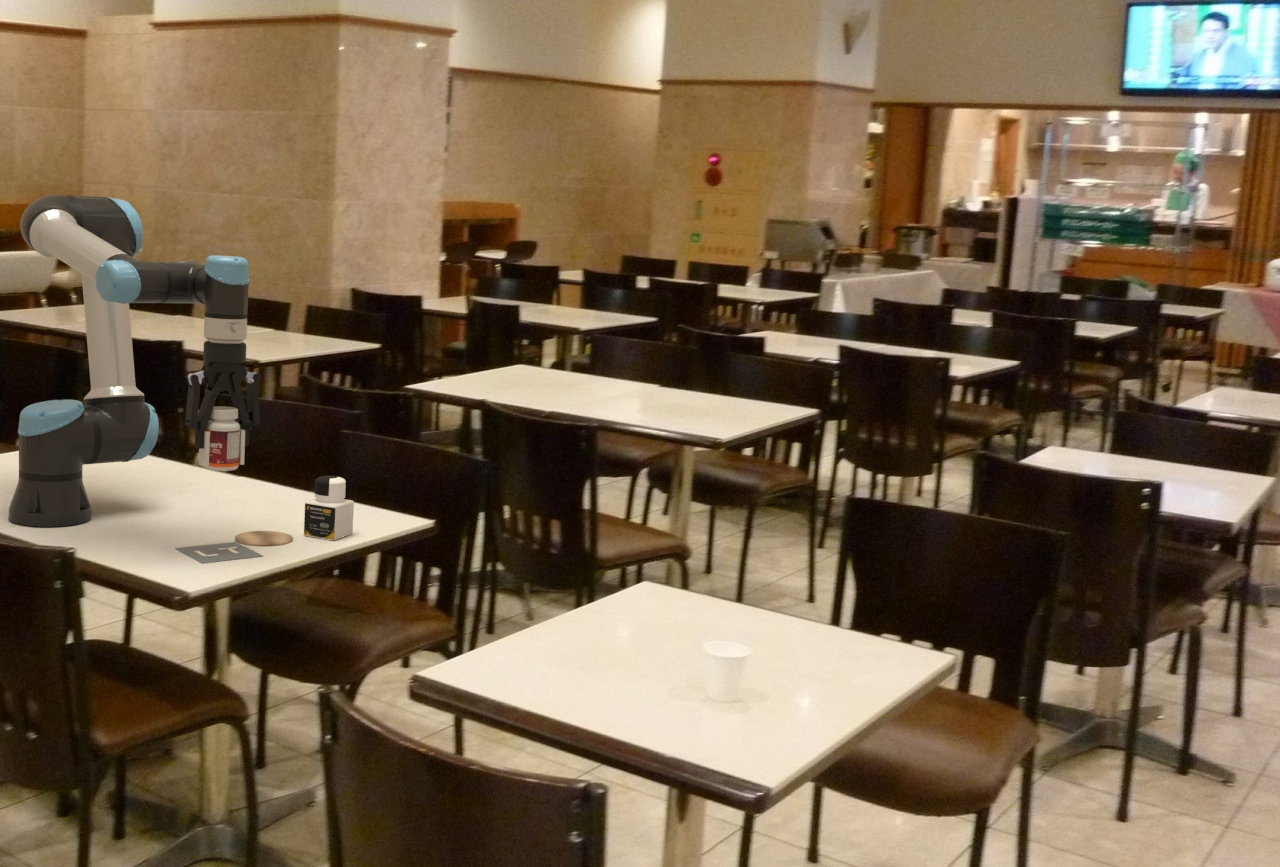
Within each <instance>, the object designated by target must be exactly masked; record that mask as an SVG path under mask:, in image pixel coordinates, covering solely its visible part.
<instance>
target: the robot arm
mask: <svg viewBox="0 0 1280 867" xmlns="http://www.w3.org/2000/svg"><path fill="white" fill-rule="evenodd" d="M19 225H20V227H19V228H20V232H21V233H20V234H21V236H22V238H23V240H24V241H25V243H26V244H27V246H29V247H30V248H31V249H32V250H34V252H36V253H38V254H39V255H42V256H43V257H47V258H50V259H51V258H52V259H53V258H54V259H58V260H60V261H61V262H63V263H64V264H66V265H67V266H69V267H70V268H72V269H74V270H76V271H77V272H78V273H80V274H81V281H82V282H81V283H82V295H83V305H84V318H85V320H84V321H85V330H86V331H85V332H86V343H87V354H88V367H89V379H90V380H89V381H90V391H89V392H88V393H87V394H86V395H85V396H84V397H83V402H82V401H80V400H77V399H76V400H75V399H52V400H51V399H50V400H45V401H38V402H35V403H32V404H30V405H27V406H26V407H23V409H22V410H21V412H20V414H19V422H18V429H17V433H18V482H17V485H16V488H15V491H14V493H13V496H12V499H11V501H10V504H9V507H8V521H10V522H11V523H13V524H17V525H21V526H26V527H27V526H28V527H38V528H39V527H40V528H41V527H43V528H45V527H46V528H48V527H51V528H53V527H67V526H75V525H81V524H83V523H84V524H85V523H86V522H89V521H90V520H91V519H92V505H91V502H90V500H89V497H88V493H87V491H86V488H85V484H84V482H83V466H84V465H96V464H107V463H108V464H109V463H110V464H111V463H120V462H121V463H127V462H130V461H137V460H141V459H144V458H147V457H148V456H149V455H151V452H152V451H153V449H154V448H155V446H156V443H157V441H158V437H159V431H160V430H159V429H160V428H159V427H160V426H159V425H160V424H159V423H160V422H159V417H158V414H157V412H156V408H155V407H154V406H153V405H151V404H150V403H147V402H145V394H144V392H142V391H141V390H139V389H138V387H137V386H136V377H135V376H136V373H135V362H134V351H133V350H134V348H133V347H134V346H133V338H132V337H133V336H132V325H131V314H130V304H197V305H204V315H203V316H204V318H203V319H204V321H203V322H204V323H203V337H204V338H205V339H206V340H205V341H204V342H203V354H202V355H203V356H202V358H203V360H202V361H203V364H202V367H201V369H200V371H198V372H194V373H191V372H188V373H187V374H186V375H185V377H186V381H187V386H188V389H187V397H186V398H187V399H186V409H185V418H184V426H186V427H187V428H190V429H193V430H194V446H195V448H196V449H198V465H199V466H201V467H204V468H205V467H209V447H210V432H209V431H206V427H207V424H208V421H210V419H211V418H210V416H211V413H212V410H213V407H215V403H216V400H217V398H218V397H219V395H220V393H221V392H226V391H227V392H228V394H229V395H230V398H231V402H232V405H233V406H232V407H234V408H237V409H238V418H237V419H236V421H237V422H238V423H239V425H240V443H239V466H240V465H241V466H242V465H243V466H244V465H245V452H246V450H245V448H246V447H249V444H250V431H251V430H252V429H253V428H254V427H257V426H259V425H260V423H261V421H260V420H261V417H260V398H259V397H260V396H259V395H260V394H259V393H260V392H259V391H260V390H259V385H260V383H261V378H262V375H261V374H260V373H257V372H254V371H248V369H247V367H246V361H247V344H246V342H244V341H245V340H246V339H247V332H248V307H249V305H248V304H249V289H250V288H249V285H250V283H249V282H250V277H249V262H248V260H247V259H246V258H245V257H241V256H233V255H218V254H217V255H215V254H213V255H209V256H207V257H206V260H205V263H200V262H197V261H194V260H193V261H188V260H187V261H179V262H178V261H177V262H175V261H174V262H171V261H150V260H149V261H144V260H143V261H142V260H138V259H137V258H135V257H134V256H136V255H138V254H139V253H140V251H141V249H142V247H143V245H142V243H143V241H144V228H143V224H142V220H141V218H140V215H139V213H138V212H137V210H136V208H134V207H133V205H132V204H131V203H130V202H128V201H126V200H124V199H121V198H112V197H109V196H91V195H90V196H88V195H71V194H70V195H68V194H66V195H65V194H56V193H55V194H48V195H44V196H42V197H39V198H36V200H33V201H32V202H31V203H30V204H28V206H26V208H25V210H24V211H23V213H22V215H21V218H20V223H19ZM244 379H245V382H246V402H247V407H246V403H245V401H244V398H243V390H242V386H241V384H242V382H243V381H244ZM203 380H204V381H205V383H206V386H205V389H204V396H203V399H202V402H201V404H200V396H201V385H202V383H203ZM199 406H200V408H199ZM246 408H247V409H246Z"/></svg>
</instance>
